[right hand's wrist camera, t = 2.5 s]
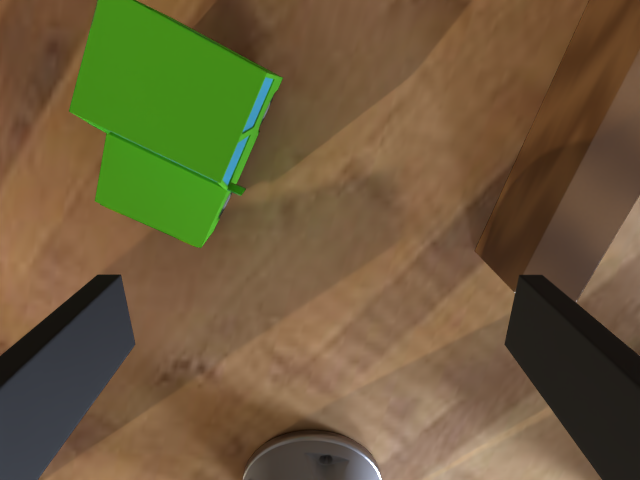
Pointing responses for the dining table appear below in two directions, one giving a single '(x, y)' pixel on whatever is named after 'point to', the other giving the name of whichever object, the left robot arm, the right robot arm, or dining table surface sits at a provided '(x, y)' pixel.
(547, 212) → the board
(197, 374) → the dining table surface
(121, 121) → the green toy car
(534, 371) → the right robot arm
